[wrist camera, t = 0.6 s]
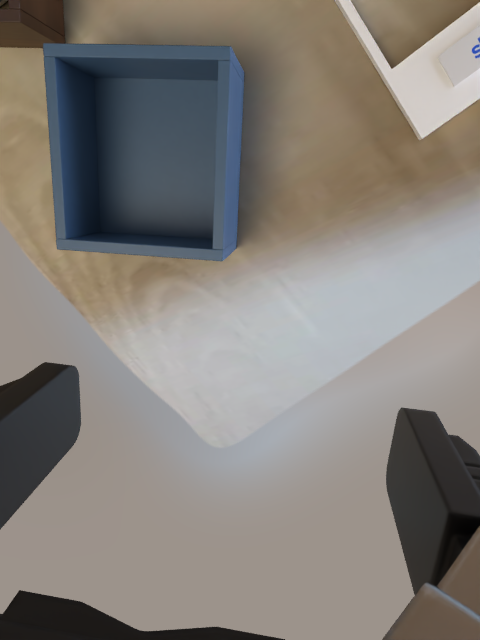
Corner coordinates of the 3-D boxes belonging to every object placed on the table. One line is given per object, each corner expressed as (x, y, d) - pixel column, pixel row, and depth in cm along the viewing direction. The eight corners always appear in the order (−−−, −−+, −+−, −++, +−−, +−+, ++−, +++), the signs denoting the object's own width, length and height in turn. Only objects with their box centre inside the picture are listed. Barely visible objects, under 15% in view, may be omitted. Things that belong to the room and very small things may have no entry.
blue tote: (89, 68, 36) (42, 42, 30) (244, 72, 35) (231, 45, 28) (96, 239, 40) (56, 249, 34) (236, 248, 39) (222, 261, 32)
